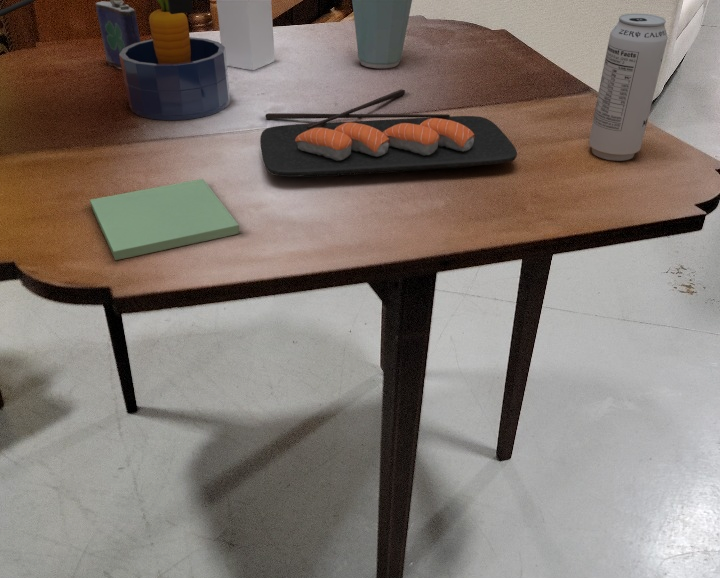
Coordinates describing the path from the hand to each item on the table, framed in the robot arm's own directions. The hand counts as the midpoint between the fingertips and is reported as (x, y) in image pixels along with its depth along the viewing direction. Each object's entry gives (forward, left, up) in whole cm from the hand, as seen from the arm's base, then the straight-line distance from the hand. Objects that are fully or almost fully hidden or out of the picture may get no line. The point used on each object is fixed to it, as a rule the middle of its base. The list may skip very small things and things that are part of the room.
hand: (167, 1), depth 94 cm
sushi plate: (+22, +19, -13) cm, 32 cm away
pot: (0, 0, -13) cm, 13 cm away
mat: (+34, -11, -13) cm, 38 cm away
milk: (-14, +15, -13) cm, 24 cm away
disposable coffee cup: (-5, +34, -13) cm, 37 cm away
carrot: (0, 0, -13) cm, 13 cm away
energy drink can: (+40, +42, -13) cm, 59 cm away
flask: (-20, -3, -13) cm, 24 cm away
